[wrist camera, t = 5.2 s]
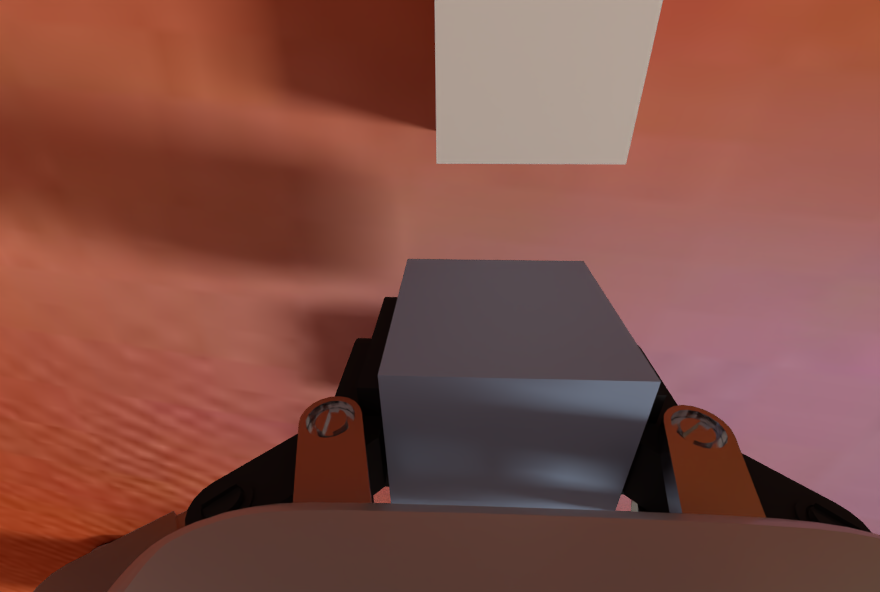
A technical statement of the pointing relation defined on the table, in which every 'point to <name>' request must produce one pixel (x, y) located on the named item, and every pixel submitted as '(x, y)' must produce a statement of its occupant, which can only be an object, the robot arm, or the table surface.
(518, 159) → the cream block
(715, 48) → the table surface
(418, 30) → the table surface
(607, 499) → the slate block
